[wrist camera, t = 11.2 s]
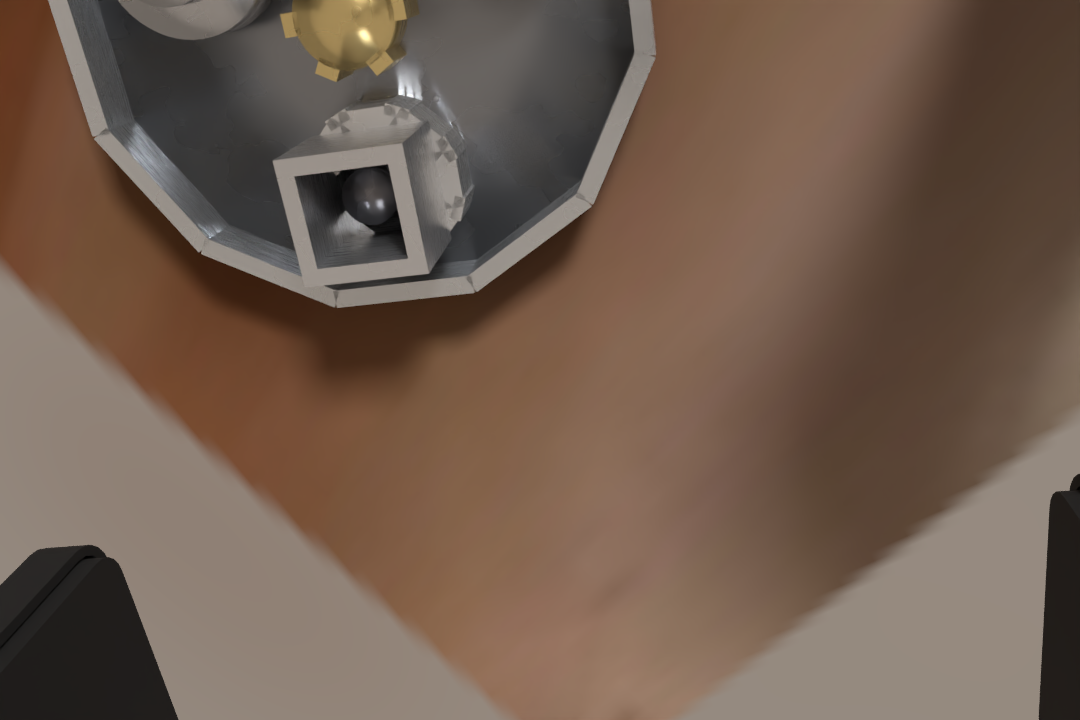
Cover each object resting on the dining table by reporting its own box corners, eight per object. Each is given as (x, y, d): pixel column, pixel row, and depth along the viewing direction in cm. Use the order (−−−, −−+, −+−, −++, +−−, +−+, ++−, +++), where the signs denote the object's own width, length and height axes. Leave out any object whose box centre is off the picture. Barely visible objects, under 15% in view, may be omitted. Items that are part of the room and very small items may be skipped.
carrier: (612, -391, 31) (604, -441, 27) (678, 245, 39) (680, 286, 35) (15, -260, 35) (-77, -285, 30) (188, 301, 43) (135, 344, 39)
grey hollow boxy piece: (456, 85, 37) (421, 115, 31) (484, 241, 39) (456, 293, 34) (304, 107, 38) (243, 139, 32) (339, 257, 40) (289, 311, 35)
